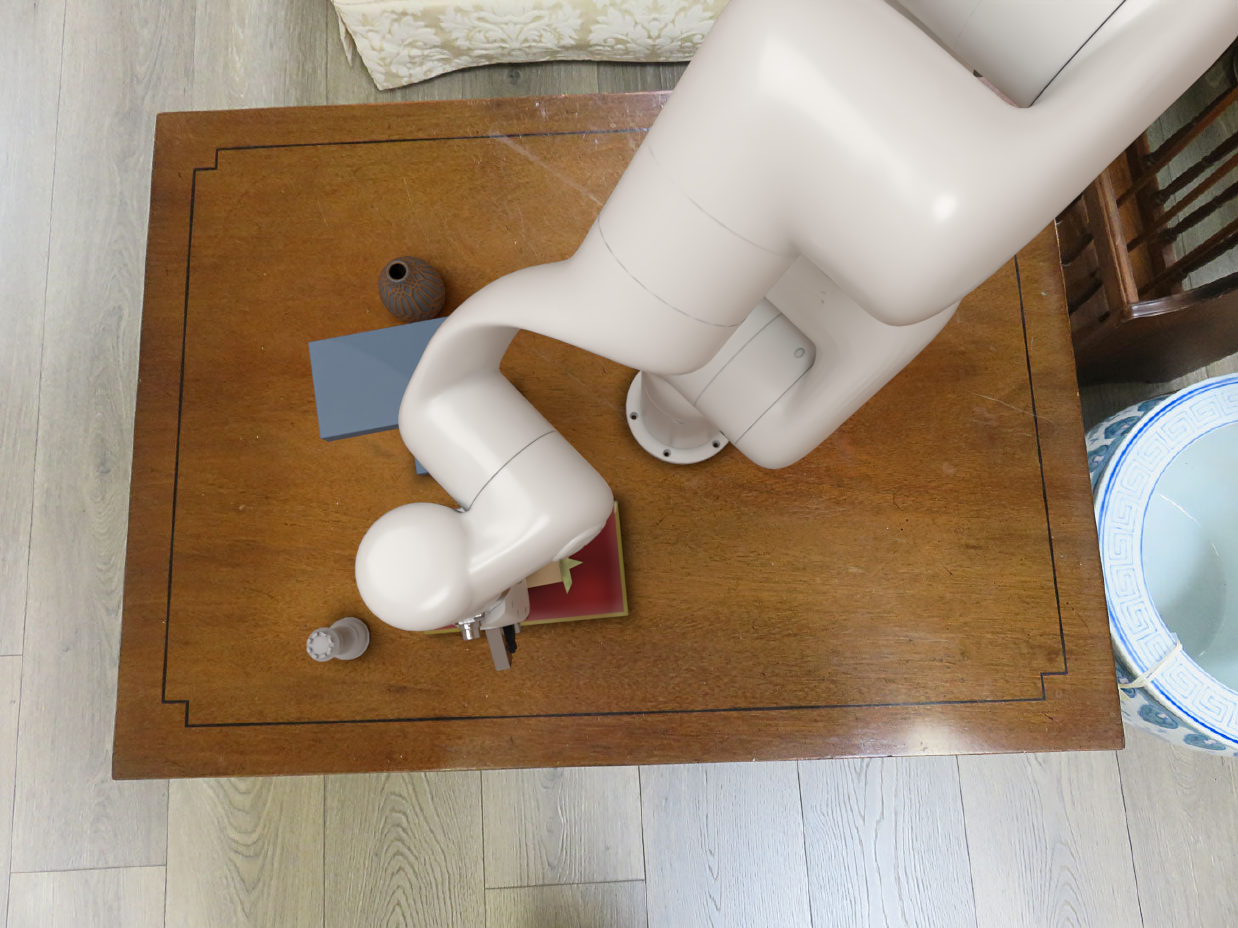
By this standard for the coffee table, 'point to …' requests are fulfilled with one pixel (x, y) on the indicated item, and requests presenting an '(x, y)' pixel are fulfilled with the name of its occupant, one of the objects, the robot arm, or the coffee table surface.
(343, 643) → the rook chess piece
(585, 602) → the hardcover book
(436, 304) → the vase
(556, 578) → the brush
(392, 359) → the stand
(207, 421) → the coffee table surface
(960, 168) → the robot arm
